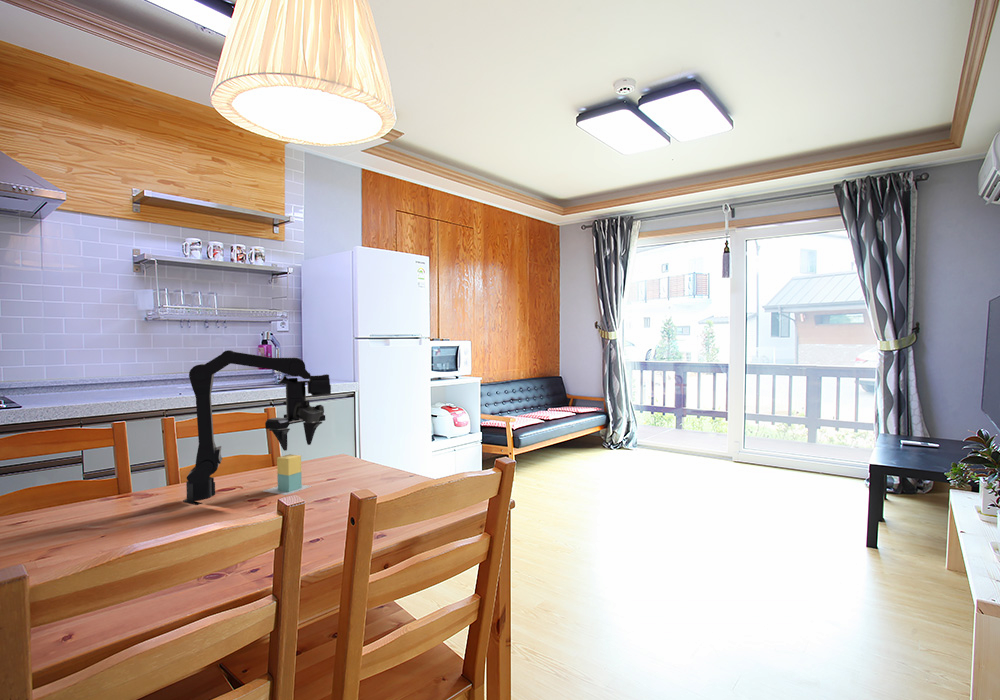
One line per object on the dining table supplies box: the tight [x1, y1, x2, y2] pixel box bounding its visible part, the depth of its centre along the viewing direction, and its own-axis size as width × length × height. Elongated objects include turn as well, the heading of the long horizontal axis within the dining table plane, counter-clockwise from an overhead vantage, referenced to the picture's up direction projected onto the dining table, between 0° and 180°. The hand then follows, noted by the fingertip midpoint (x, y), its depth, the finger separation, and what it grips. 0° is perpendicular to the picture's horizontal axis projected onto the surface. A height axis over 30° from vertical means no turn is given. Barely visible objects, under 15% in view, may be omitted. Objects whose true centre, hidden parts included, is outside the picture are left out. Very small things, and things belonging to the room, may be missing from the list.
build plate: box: [263, 484, 312, 496], centre depth 156 cm, size 10×10×1 cm
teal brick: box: [277, 471, 303, 492], centre depth 155 cm, size 5×5×5 cm
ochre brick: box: [276, 453, 302, 475], centre depth 155 cm, size 5×5×5 cm
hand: (297, 447), depth 158 cm, fingers open, 9 cm apart
